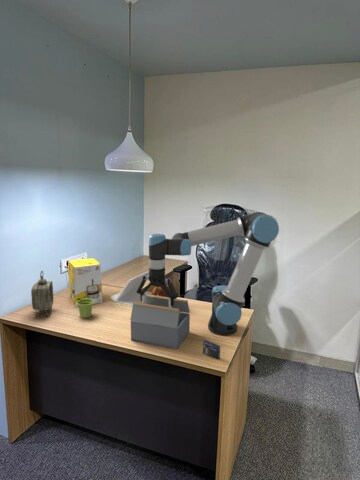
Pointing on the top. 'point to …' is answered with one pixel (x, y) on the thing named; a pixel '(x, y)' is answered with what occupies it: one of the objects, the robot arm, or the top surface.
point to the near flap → (155, 314)
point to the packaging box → (85, 280)
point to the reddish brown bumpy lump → (159, 292)
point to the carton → (161, 332)
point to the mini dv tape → (211, 349)
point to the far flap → (165, 302)
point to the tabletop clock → (42, 295)
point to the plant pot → (85, 307)
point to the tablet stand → (131, 291)
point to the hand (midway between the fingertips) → (157, 309)
